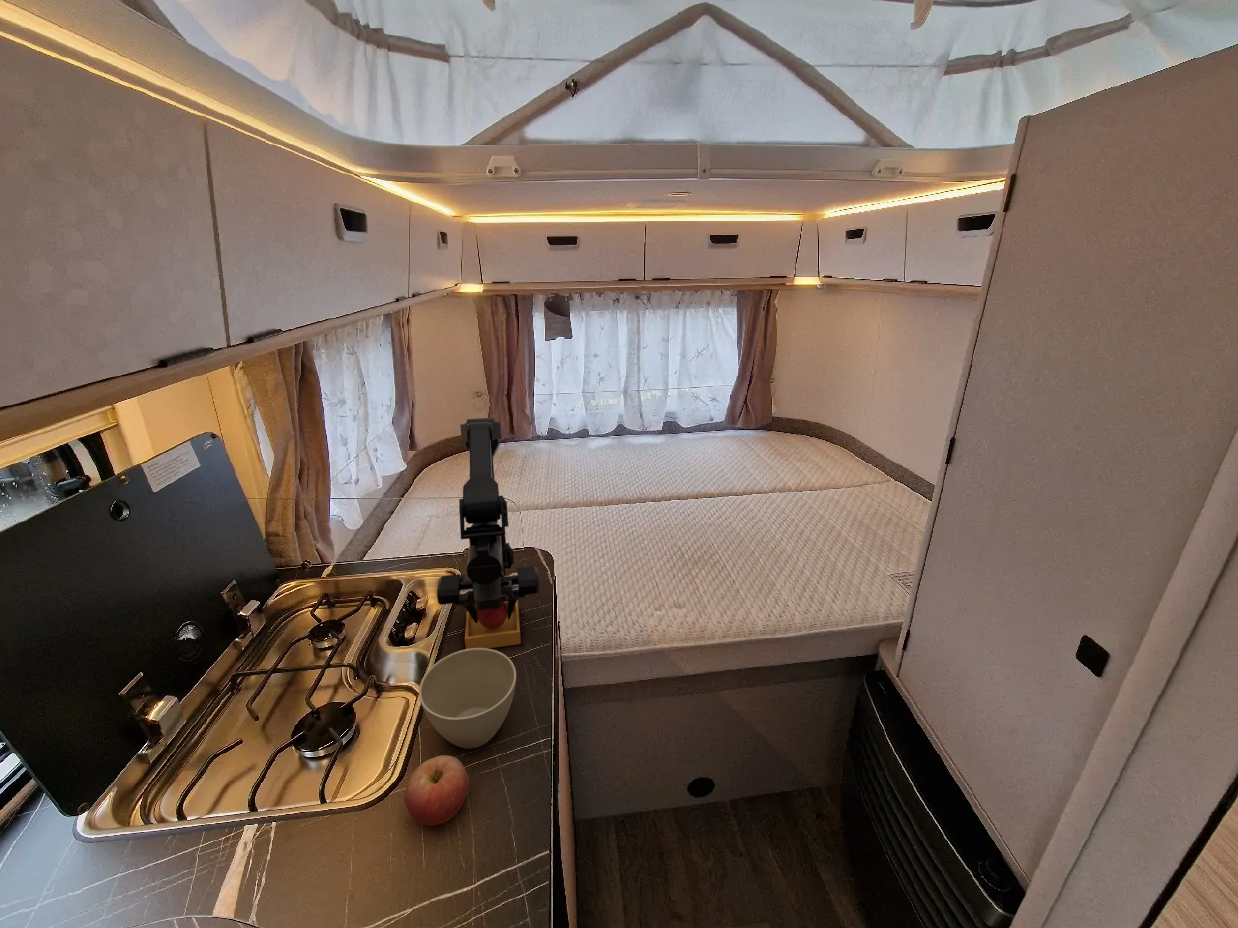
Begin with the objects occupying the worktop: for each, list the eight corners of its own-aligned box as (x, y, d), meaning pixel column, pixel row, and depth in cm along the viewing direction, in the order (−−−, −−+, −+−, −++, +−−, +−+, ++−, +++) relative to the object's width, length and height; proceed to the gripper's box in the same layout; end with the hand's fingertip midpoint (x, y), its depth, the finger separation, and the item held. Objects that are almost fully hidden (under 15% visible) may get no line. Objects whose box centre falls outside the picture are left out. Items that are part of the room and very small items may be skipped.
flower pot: (528, 750, 79) (525, 700, 75) (430, 783, 73) (421, 732, 70) (509, 683, 91) (506, 637, 87) (424, 708, 86) (416, 660, 82)
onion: (512, 619, 106) (509, 586, 103) (503, 638, 100) (500, 605, 97) (484, 617, 106) (481, 584, 103) (474, 636, 101) (470, 602, 98)
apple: (483, 796, 72) (478, 756, 69) (440, 850, 65) (432, 808, 62) (442, 770, 75) (435, 730, 72) (396, 818, 69) (387, 777, 66)
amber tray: (468, 616, 107) (467, 605, 106) (518, 610, 109) (517, 598, 108) (466, 651, 98) (464, 638, 97) (520, 643, 100) (519, 631, 99)
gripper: (429, 583, 87) (440, 655, 93) (540, 571, 91) (543, 641, 97) (435, 549, 97) (445, 615, 103) (535, 539, 101) (538, 604, 107)
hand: (492, 619), depth 103 cm, fingers closed on onion, 6 cm apart
